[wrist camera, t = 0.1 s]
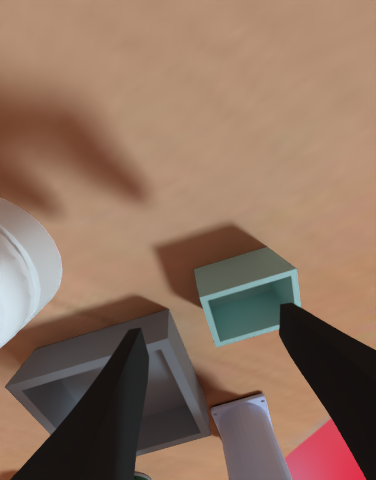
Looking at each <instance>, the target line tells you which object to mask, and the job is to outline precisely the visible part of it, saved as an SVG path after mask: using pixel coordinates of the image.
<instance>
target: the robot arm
mask: <svg viewBox="0 0 376 480" xmlns="http://www.w3.org/2000/svg"><path fill="white" fill-rule="evenodd" d="M279 336H280V338H281V340H282V342H283V343H284V345H285V347H286V349H287V351H288V353H289V355H290V356H291V358H292V359H293V361H294V363H295V364H296V366H297V367H298V369H299V370H300V372H301V373H302V375H303V376H304V377H305V379H306V380H307V382H308V383H309V385H310V386H311V388H312V389H313V391H314V392H315V394H316V395H317V397H318V398H319V400H320V401H321V403H322V404H323V406H324V407H325V409H326V410H327V412H328V413H329V415H330V417H331V418H332V420H333V421H334V423H335V425H336V426H337V428H338V430H339V432H340V433H341V435H342V437H343V439H344V440H345V442H346V444H347V446H348V447H349V449H350V451H351V452H352V454H353V456H354V458H355V460H356V462H357V463H358V465H359V467H360V469H361V470H362V472H363V474H364V476H365V478H366V480H376V350H374V349H372V348H371V347H369V346H367V345H365V344H363V343H361V342H359V341H357V340H356V339H354V338H352V337H350V336H348V335H347V334H345V333H343V332H341V331H339V330H338V329H336V328H334V327H332V326H331V325H329V324H327V323H326V322H324V321H322V320H321V319H319V318H317V317H316V316H314V315H312V314H311V313H309V312H307V311H306V310H304V309H302V308H301V307H299V306H297V305H295V304H294V303H292V302H291V303H285V304H280V324H279ZM148 372H149V354H148V351H147V347H146V344H145V340H144V336H143V333H142V329H141V328H135V329H129V330H128V331H127V333H126V334H125V336H124V337H123V339H122V341H121V342H120V344H119V345H118V347H117V348H116V350H115V351H114V353H113V354H112V356H111V357H110V359H109V360H108V362H107V363H106V365H105V366H104V368H103V369H102V370H101V372H100V373H99V375H98V376H97V378H96V379H95V380H94V382H93V383H92V384H91V386H90V387H89V388H88V390H87V391H86V392H85V394H84V395H83V396H82V398H81V399H80V400H79V402H78V403H77V404H76V405H75V407H74V408H73V409H72V410H71V412H70V413H69V414H68V415H67V417H66V418H65V419H64V420H63V421H62V423H61V424H60V425H59V426H58V427H57V429H56V430H55V431H54V432H53V433H52V434H51V435H50V437H49V438H48V439H47V440H46V441H45V442H44V443H43V444H42V446H41V447H40V448H39V449H38V450H37V451H36V452H35V453H34V454H33V456H32V457H31V458H30V459H29V460H28V461H27V462H26V463H25V464H24V465H23V467H22V468H21V469H20V470H19V471H18V472H17V473H16V474H15V475H14V476H13V477H12V478H11V479H10V480H134V471H135V461H136V452H137V445H138V438H139V432H140V426H141V420H142V414H143V408H144V402H145V396H146V389H147V383H148ZM210 411H211V415H212V417H213V419H214V422H215V424H216V426H217V429H218V431H219V434H220V436H221V439H222V444H223V450H224V455H225V460H226V466H227V471H228V477H229V480H293V479H292V477H291V474H290V472H289V469H288V467H287V464H286V461H285V459H284V456H283V454H282V451H281V449H280V446H279V444H278V441H277V439H276V436H275V434H274V431H273V427H272V423H271V418H270V414H269V410H268V406H267V402H266V398H265V395H264V394H257V395H254V396H250V397H247V398H243V399H240V400H236V401H233V402H229V403H226V404H222V405H219V406H215V407H212V408H211V409H210Z"/></svg>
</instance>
